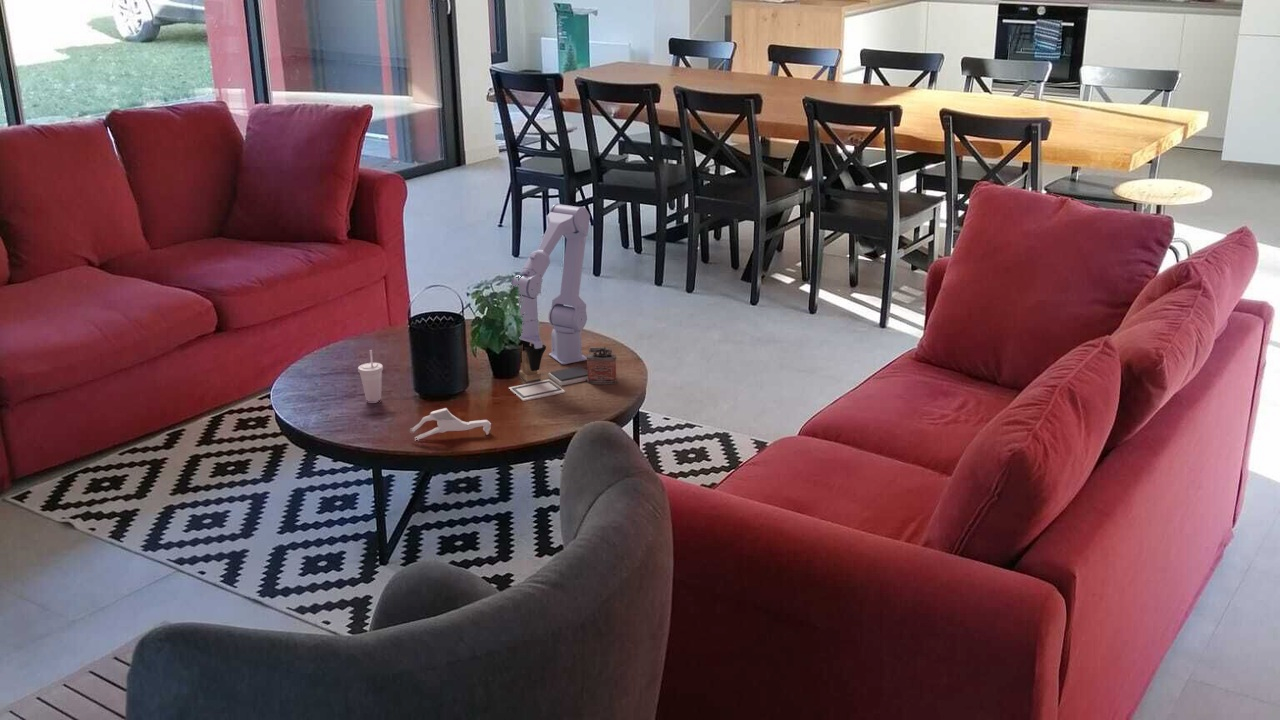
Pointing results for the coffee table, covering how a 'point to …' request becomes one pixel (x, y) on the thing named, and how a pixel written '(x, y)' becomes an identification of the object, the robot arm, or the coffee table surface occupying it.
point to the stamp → (528, 370)
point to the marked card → (536, 390)
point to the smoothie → (371, 379)
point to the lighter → (601, 366)
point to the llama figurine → (449, 423)
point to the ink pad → (569, 375)
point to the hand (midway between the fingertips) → (529, 365)
